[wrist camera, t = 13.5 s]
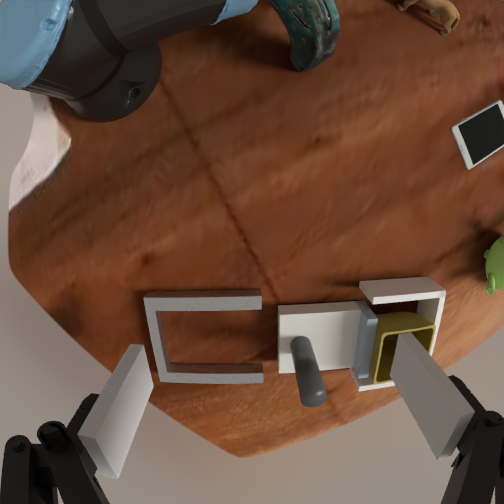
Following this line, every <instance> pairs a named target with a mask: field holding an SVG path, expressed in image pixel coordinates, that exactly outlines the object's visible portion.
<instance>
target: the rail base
mask: <svg viewBox="0 0 504 504" xmlns="http://www.w3.org/2000/svg"><path fill="white" fill-rule="evenodd" d="M144 304H145V310H146V316H147V321H148V326H149V332H150V337H151V342H152V346H153V351H154V356H155V360H156V365H157V369H158V373H159V378H160V382H177V383H210V384H239V383H263V364H234V365H203V364H170V359H169V354H168V348H167V343H166V338H165V332H164V326H163V320H162V314H161V311H220V310H260V309H262V296H261V289H245V290H202V291H148V292H147V294H146V295H145V296H144Z"/></svg>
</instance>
